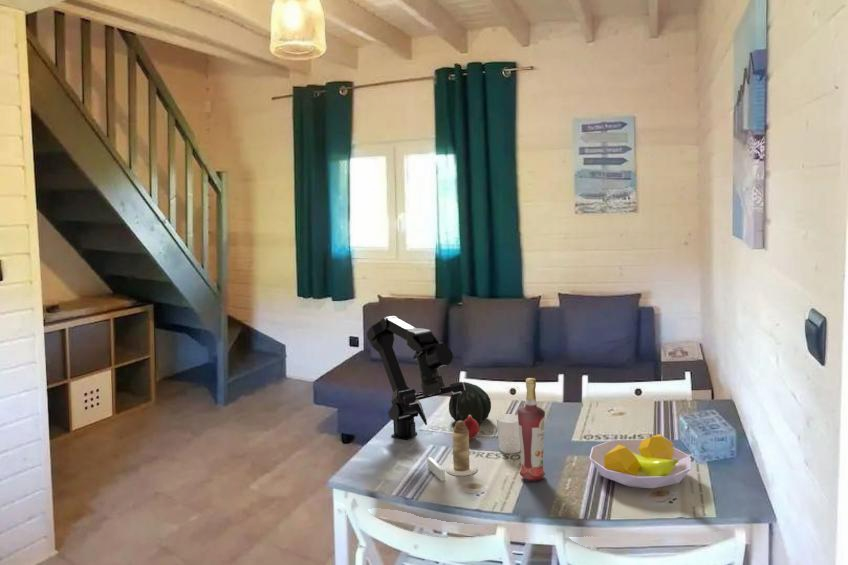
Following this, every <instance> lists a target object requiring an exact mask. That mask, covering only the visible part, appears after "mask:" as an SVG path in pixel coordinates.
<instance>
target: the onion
mask: <svg viewBox="0 0 848 565" xmlns="http://www.w3.org/2000/svg"><path fill="white" fill-rule="evenodd" d="M464 422H465V424H466V427H467V430H468V431H469V440H472V439H473V438H475V437H476V436H477V435H478V434H479V431H480V425H479V424H478V423H477V421H476V420H475V419H473V418H472V416H471V415H469V416H468V418H467V419H465V420H464Z"/></svg>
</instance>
